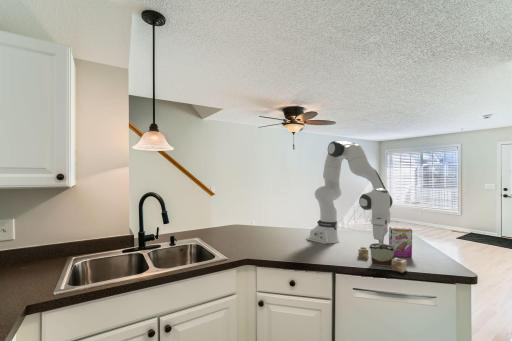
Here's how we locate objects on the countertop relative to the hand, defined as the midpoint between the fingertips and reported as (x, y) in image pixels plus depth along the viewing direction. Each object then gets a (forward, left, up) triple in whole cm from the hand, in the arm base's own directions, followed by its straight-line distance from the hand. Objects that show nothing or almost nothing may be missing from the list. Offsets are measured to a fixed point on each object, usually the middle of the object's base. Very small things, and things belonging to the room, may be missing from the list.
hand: (381, 244), depth 134 cm
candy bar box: (+7, +19, -10) cm, 23 cm away
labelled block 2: (+9, -4, -10) cm, 14 cm away
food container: (0, 0, -10) cm, 10 cm away
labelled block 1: (-10, +5, -10) cm, 15 cm away
